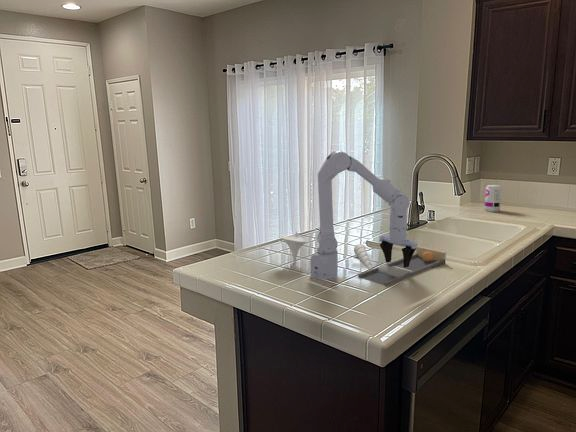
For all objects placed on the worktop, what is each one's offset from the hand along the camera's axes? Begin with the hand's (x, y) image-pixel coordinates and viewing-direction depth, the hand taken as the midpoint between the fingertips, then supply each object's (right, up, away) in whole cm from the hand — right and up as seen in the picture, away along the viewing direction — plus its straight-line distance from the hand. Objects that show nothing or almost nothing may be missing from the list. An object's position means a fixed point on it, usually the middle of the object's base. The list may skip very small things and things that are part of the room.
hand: (397, 264), depth 156 cm
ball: (+14, +3, +9) cm, 17 cm away
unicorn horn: (-9, -1, +14) cm, 17 cm away
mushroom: (-36, -1, +17) cm, 40 cm away
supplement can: (+81, +20, +103) cm, 133 cm away
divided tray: (+3, -6, +4) cm, 8 cm away
